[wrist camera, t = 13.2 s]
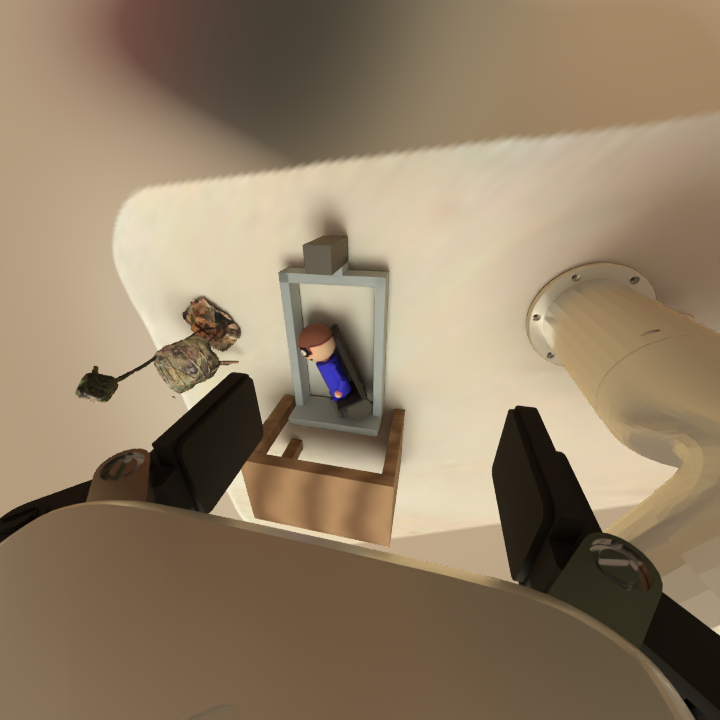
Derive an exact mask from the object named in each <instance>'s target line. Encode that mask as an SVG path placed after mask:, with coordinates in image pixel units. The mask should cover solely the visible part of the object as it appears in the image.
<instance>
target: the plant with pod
mask: <svg viewBox="0 0 720 720" xmlns="http://www.w3.org/2000/svg"><path fill="white" fill-rule="evenodd" d="M198 299H199V301H198V300H196V299H195V302H190V303H191V304H192V305H193V306H192V305H191V307H190V309H189V308H188V310H187V311H186V312H187V313H186V312H183V315H182V316H183V318H184V319H185V321H187V322H188V323H189V324H190V325H191V326H192V328H191V330H192V331H193V332H194V333H193V334H192V335H191V336H189V337H187V338H185V339H184V340H180V341H179V342H175V343H173V344H171V345H166V346H164V347H163V348H162V349H161V350H159V351H157V353H156V354H155V355H154V357H153V358H152V359H150V360H149V361H148V362H146V363H144V364H143V365H141V366H139V367H137V368H135V369H134V370H132V371H130V372H127V373H126V374H124V375H122V376H119V377H118V378H114V377H112V376H107V375H103V374H99V373H98V367H97V366H94V369H93V370H92V373H87V374H86V375H85V376H84V377H83V378H82V380H81V382H80V384H79V386H78V388H77V390H76V392H75V395H76V396H77V397H78V398H83V399H86V400H89V401H93V402H107V401H108V400H109V399H110V398H111V397H112V395H113V394H114V393H115V391H116V390H117V388H118V384H117V382H119V381H122V380H124V379H125V378H126V377H128V376H129V375H131V374H133V373H134V372H135V371H139V370H141V369H142V368H144V367H146V366H147V365H148V364H150V363H151V362H153V361H154V365H155V366H156V368H157V371H158V373H159V375H160V376H161V377H162V378H163V380H164V381H165V382H166V383H167V384H168V385H169V387H170V388H171V389H172V390H174V391H175V392H177V393H179V394H180V393H183V392H185V391H188V390H190V389H191V388H193V387H194V386H195V385H196V384H198V383H201V382H205V381H206V380H207V379H209V378H211V377H213V376H214V374H215V373H216V371H217V369H218V368H219V365H229V364H237V363H239V361H219V358H218V357H217V355H216V354H215V353H214V352H213V351H212V350H211V346H212V347H213V348H215V349H218V351H219V350H220V351H222V352H223V351H225V350H226V351H227V349H228V348H229V347H230V346H231V345H233V342H235V341H237V338H240V337H239V336H240V333H241V332H240V331H239V328H238V327H237V325H236V326H235V323H234V322H233V321H232V320H231V318H229V317H228V315H227V314H224V313H223V312H221V311H219V310H218V311H217V310H216V309H215V307H214V306H210V305H209V304H208V303H207V301H205V299H204V298H198ZM195 334H196V335H195ZM173 398H175V397H174V396H173Z"/></svg>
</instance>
